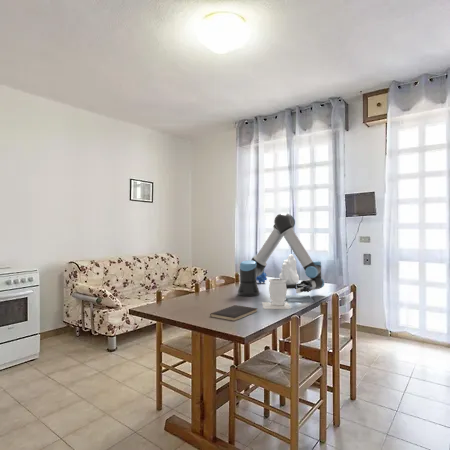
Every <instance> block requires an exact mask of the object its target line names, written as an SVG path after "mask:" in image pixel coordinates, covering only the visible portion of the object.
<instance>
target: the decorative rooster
mask: <svg viewBox="0 0 450 450" xmlns="http://www.w3.org/2000/svg"><path fill="white" fill-rule="evenodd" d="M278 276H279V279H285V280H286V284H294V283H296V284H299V283H300V276H299V274H298V270H297V259H296V258H295V255H294V253H293V254H292V253H290V254H289V255H288V256H287V259H283V263H282V264H281V271H280V273H279V275H278Z"/></svg>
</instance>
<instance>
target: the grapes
mask: <svg viewBox="0 0 450 450" xmlns="http://www.w3.org/2000/svg"><path fill="white" fill-rule="evenodd" d="M267 280H268V277H267V273H265V271H264V272H263V273H262V274H261V275H260V276H257V277H256V282H258V283H259V284H261V283H263V284H264V283H265V282H266V281H267Z"/></svg>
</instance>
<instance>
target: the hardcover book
mask: <svg viewBox="0 0 450 450" xmlns="http://www.w3.org/2000/svg"><path fill="white" fill-rule="evenodd" d="M257 311H258V308H257V307H251V306H250V307H249V306H245V305H244V306H243V305H237V304H235V305H231V306H228V307H225V308H223V309H219V310H216V311H214V312H211V313H210V317H212V318H218V319H223V320H228V321H238V320H240V319H242V318H244V317H247V316H249V315H252V314H254V313H257Z"/></svg>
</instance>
